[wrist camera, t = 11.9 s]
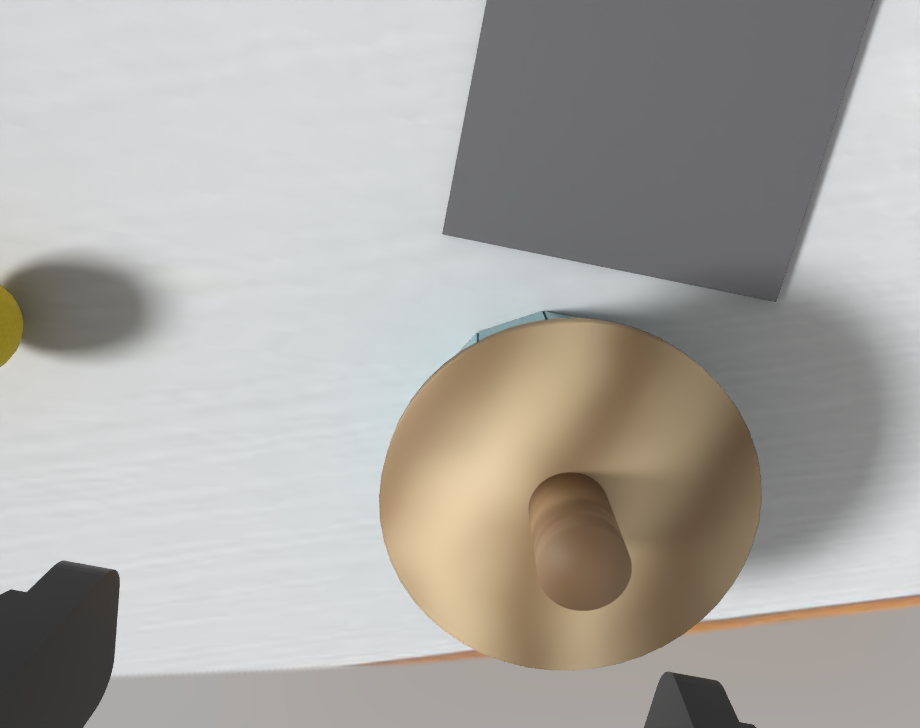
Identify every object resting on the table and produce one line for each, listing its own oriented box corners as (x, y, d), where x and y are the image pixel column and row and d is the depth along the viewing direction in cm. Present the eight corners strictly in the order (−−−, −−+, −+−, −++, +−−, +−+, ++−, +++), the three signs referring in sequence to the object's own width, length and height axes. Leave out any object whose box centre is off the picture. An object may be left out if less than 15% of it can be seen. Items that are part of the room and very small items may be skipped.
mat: (891, -71, 34) (897, -74, 34) (772, 300, 39) (776, 302, 39) (516, -154, 34) (516, -158, 33) (442, 233, 39) (442, 234, 38)
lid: (801, 359, 32) (875, 405, 26) (692, 681, 37) (734, 784, 31) (417, 283, 31) (403, 312, 25) (356, 619, 36) (332, 711, 30)
